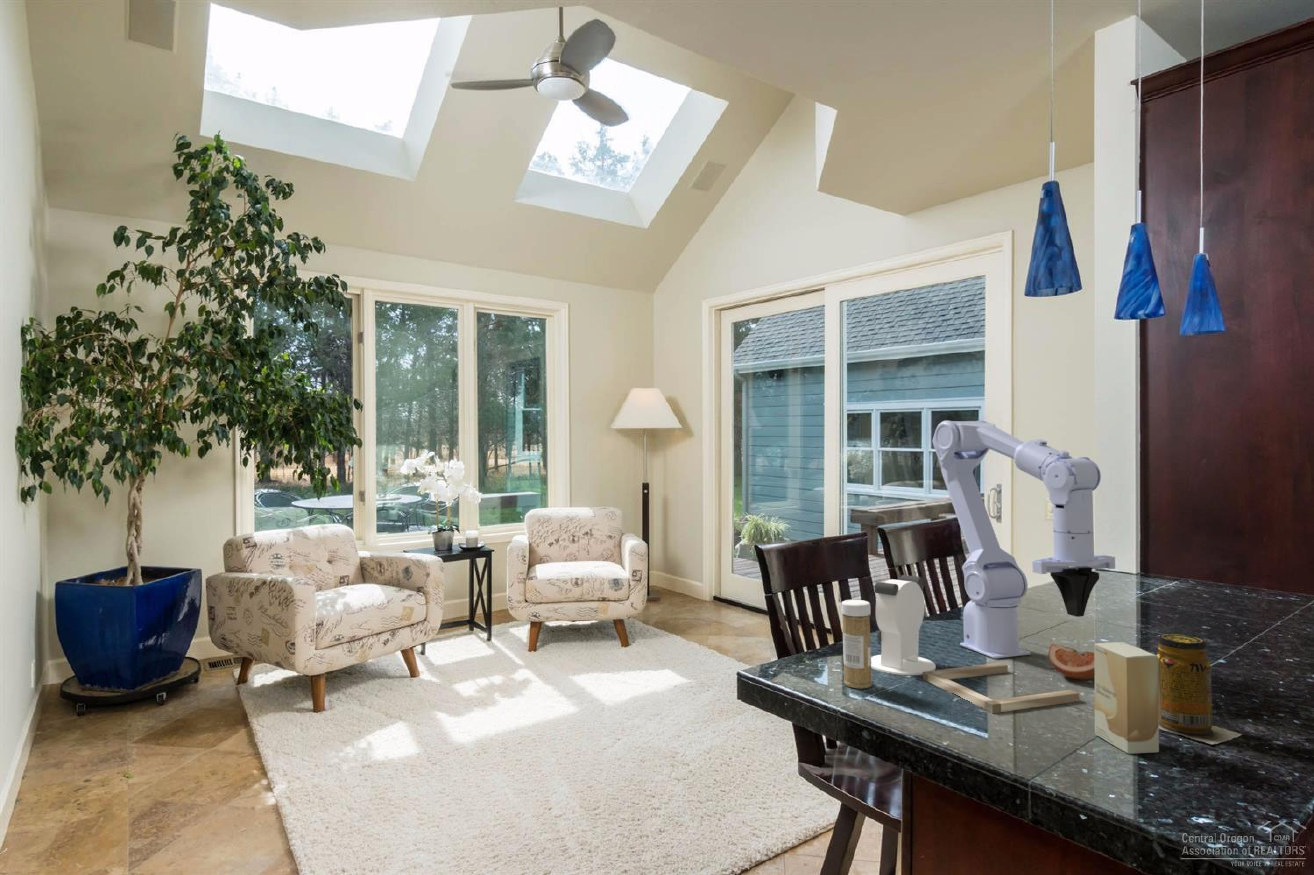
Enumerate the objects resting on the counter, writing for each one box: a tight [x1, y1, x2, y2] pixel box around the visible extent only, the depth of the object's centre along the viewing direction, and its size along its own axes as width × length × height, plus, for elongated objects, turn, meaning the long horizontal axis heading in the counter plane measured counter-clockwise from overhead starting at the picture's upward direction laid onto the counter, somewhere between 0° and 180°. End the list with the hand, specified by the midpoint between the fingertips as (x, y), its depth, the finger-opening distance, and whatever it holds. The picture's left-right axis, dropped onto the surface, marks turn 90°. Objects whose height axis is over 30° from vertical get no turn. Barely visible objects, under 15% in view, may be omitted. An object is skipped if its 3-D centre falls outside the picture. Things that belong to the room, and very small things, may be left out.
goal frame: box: [922, 662, 1080, 714], centre depth 112 cm, size 16×16×1 cm
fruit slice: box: [1048, 643, 1095, 681], centre depth 117 cm, size 8×7×5 cm
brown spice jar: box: [840, 599, 873, 690], centre depth 116 cm, size 5×5×13 cm
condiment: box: [1156, 633, 1243, 745], centre depth 96 cm, size 7×8×12 cm
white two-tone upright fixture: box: [871, 574, 937, 676], centre depth 126 cm, size 12×11×15 cm
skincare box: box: [1093, 641, 1160, 755], centre depth 92 cm, size 6×4×12 cm
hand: (1075, 615), depth 117 cm, fingers closed
